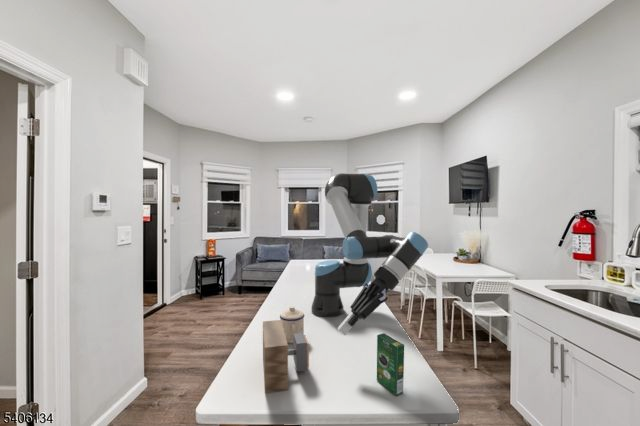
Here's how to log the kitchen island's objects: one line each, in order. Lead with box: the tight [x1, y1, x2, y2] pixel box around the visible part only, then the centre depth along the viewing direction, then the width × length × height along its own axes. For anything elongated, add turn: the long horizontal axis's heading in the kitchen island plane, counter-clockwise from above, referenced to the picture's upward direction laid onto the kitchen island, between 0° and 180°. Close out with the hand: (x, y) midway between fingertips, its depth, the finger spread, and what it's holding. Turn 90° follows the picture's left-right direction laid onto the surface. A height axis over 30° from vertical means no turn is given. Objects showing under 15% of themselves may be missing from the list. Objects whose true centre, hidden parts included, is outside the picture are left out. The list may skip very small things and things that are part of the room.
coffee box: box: [376, 332, 405, 397], centre depth 77 cm, size 8×3×13 cm, turn 29°
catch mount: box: [262, 319, 289, 394], centre depth 84 cm, size 6×18×12 cm, turn 13°
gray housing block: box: [288, 333, 310, 372], centre depth 86 cm, size 9×7×8 cm
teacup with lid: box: [279, 306, 305, 344], centre depth 106 cm, size 12×9×12 cm
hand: (341, 331), depth 87 cm, fingers closed
